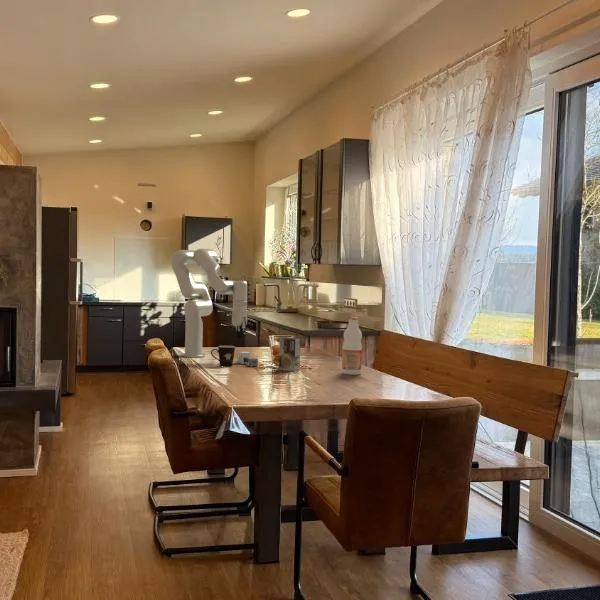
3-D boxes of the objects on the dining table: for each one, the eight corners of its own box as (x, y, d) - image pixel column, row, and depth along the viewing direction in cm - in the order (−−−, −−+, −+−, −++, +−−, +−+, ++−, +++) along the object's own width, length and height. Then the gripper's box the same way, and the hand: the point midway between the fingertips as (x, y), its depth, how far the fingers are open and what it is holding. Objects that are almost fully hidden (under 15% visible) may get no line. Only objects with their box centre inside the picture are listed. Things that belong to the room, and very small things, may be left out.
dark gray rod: (237, 361, 382) (238, 355, 382) (243, 361, 384) (243, 355, 383) (251, 365, 368) (251, 359, 368) (256, 365, 370) (257, 359, 370)
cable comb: (235, 362, 381) (235, 356, 381) (245, 362, 384) (246, 356, 384) (236, 363, 380) (236, 356, 380) (246, 362, 383) (247, 356, 383)
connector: (248, 366, 370) (248, 358, 370) (255, 365, 372) (255, 358, 372) (250, 366, 368) (250, 359, 368) (257, 366, 370) (257, 358, 370)
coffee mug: (236, 365, 372) (236, 346, 371) (232, 367, 363) (233, 347, 363) (213, 364, 373) (214, 345, 373) (210, 366, 364) (210, 346, 364)
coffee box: (300, 370, 363) (301, 338, 363) (294, 371, 357) (295, 339, 357) (283, 368, 367) (284, 336, 366) (278, 369, 361) (279, 337, 361)
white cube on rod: (238, 362, 380) (238, 351, 380) (245, 362, 382) (246, 351, 382) (242, 363, 376) (242, 352, 376) (249, 363, 378) (249, 352, 378)
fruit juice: (337, 372, 359) (340, 316, 357) (353, 371, 364) (355, 316, 363) (349, 375, 351) (351, 317, 350) (364, 374, 356) (366, 317, 355)
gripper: (227, 303, 388) (227, 337, 389) (239, 304, 376) (239, 340, 376) (240, 303, 392) (240, 337, 393) (252, 304, 379) (252, 339, 380)
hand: (239, 338), depth 384 cm, fingers closed
